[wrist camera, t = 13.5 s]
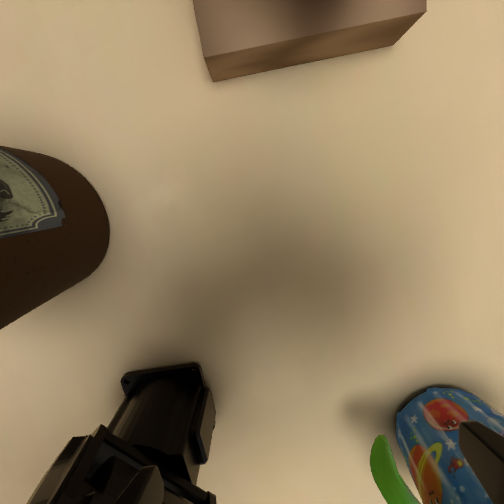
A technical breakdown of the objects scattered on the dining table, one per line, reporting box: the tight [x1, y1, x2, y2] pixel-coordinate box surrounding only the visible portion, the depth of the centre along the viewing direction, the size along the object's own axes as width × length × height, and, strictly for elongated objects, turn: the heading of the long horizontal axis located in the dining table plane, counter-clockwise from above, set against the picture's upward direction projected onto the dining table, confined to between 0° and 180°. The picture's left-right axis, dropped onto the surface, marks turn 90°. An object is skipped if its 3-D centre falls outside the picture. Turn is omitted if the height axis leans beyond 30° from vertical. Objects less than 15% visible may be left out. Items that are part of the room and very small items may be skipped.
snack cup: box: [370, 387, 504, 504], centre depth 17 cm, size 16×10×10 cm
